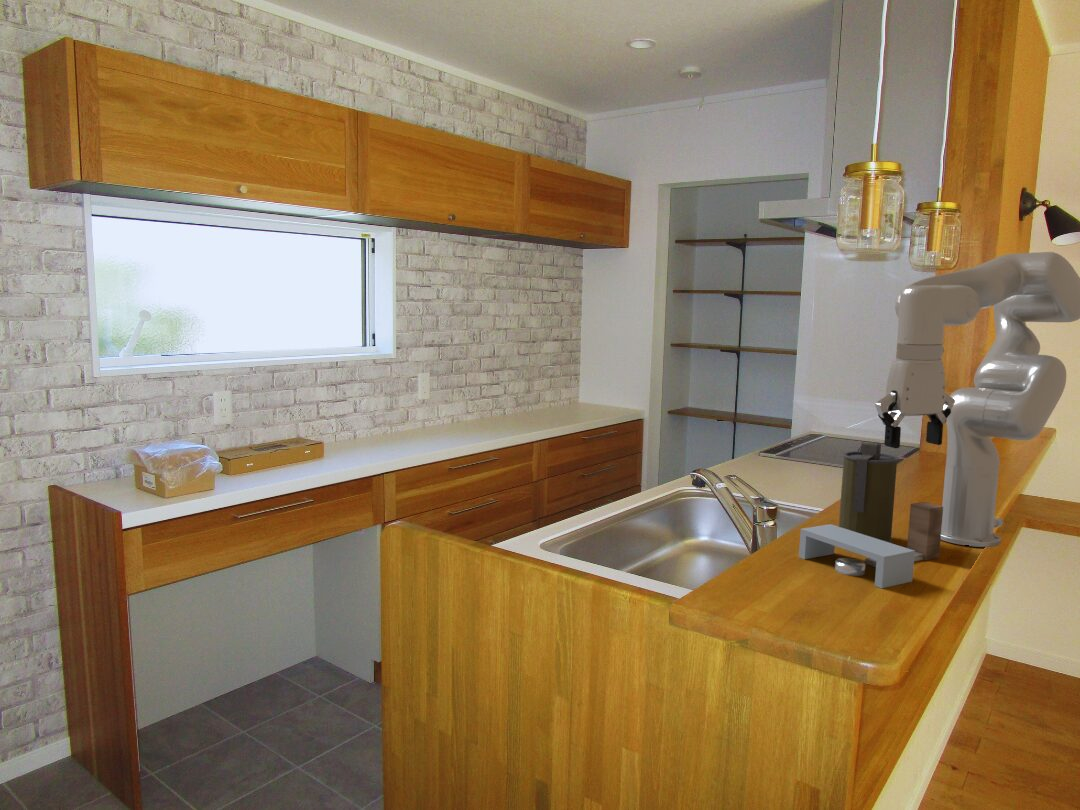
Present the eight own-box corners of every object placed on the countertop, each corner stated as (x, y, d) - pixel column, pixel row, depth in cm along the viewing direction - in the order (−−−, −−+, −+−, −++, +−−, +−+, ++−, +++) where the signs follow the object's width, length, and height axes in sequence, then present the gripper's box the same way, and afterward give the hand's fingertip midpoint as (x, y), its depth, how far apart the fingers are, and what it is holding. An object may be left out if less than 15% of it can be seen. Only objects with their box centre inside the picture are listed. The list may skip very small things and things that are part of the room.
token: (847, 566, 138) (848, 556, 138) (870, 574, 134) (871, 564, 134) (828, 569, 136) (829, 560, 136) (851, 578, 132) (852, 568, 131)
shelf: (828, 551, 146) (830, 524, 145) (912, 581, 130) (914, 550, 129) (798, 557, 142) (800, 528, 141) (881, 588, 126) (884, 556, 126)
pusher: (919, 551, 147) (923, 501, 146) (938, 557, 144) (943, 506, 143) (862, 563, 140) (866, 510, 138) (881, 569, 136) (885, 515, 135)
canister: (846, 528, 163) (853, 437, 160) (897, 538, 156) (905, 443, 154) (829, 539, 154) (836, 443, 152) (883, 550, 148) (891, 450, 145)
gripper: (939, 351, 144) (933, 439, 147) (865, 353, 139) (860, 444, 142) (972, 354, 137) (966, 446, 140) (895, 356, 132) (890, 452, 134)
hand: (913, 445), depth 141 cm, fingers open, 9 cm apart
